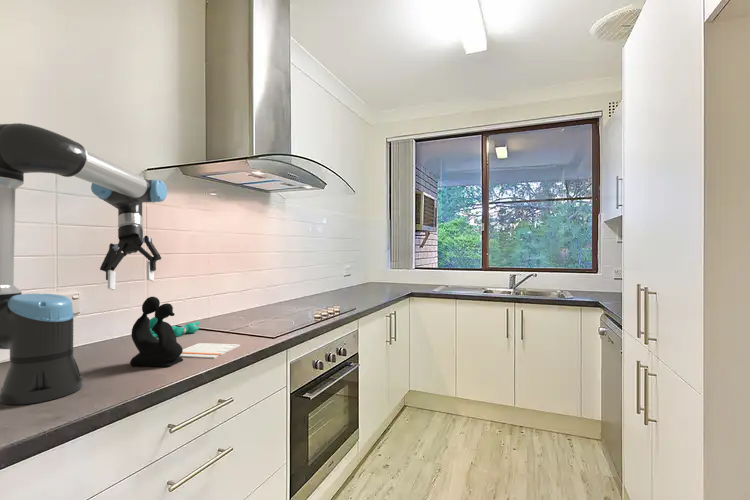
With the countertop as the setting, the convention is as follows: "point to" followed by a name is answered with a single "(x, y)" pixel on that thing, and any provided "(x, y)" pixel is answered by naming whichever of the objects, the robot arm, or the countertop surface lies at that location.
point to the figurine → (148, 346)
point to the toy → (176, 328)
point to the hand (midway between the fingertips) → (131, 284)
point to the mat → (207, 350)
